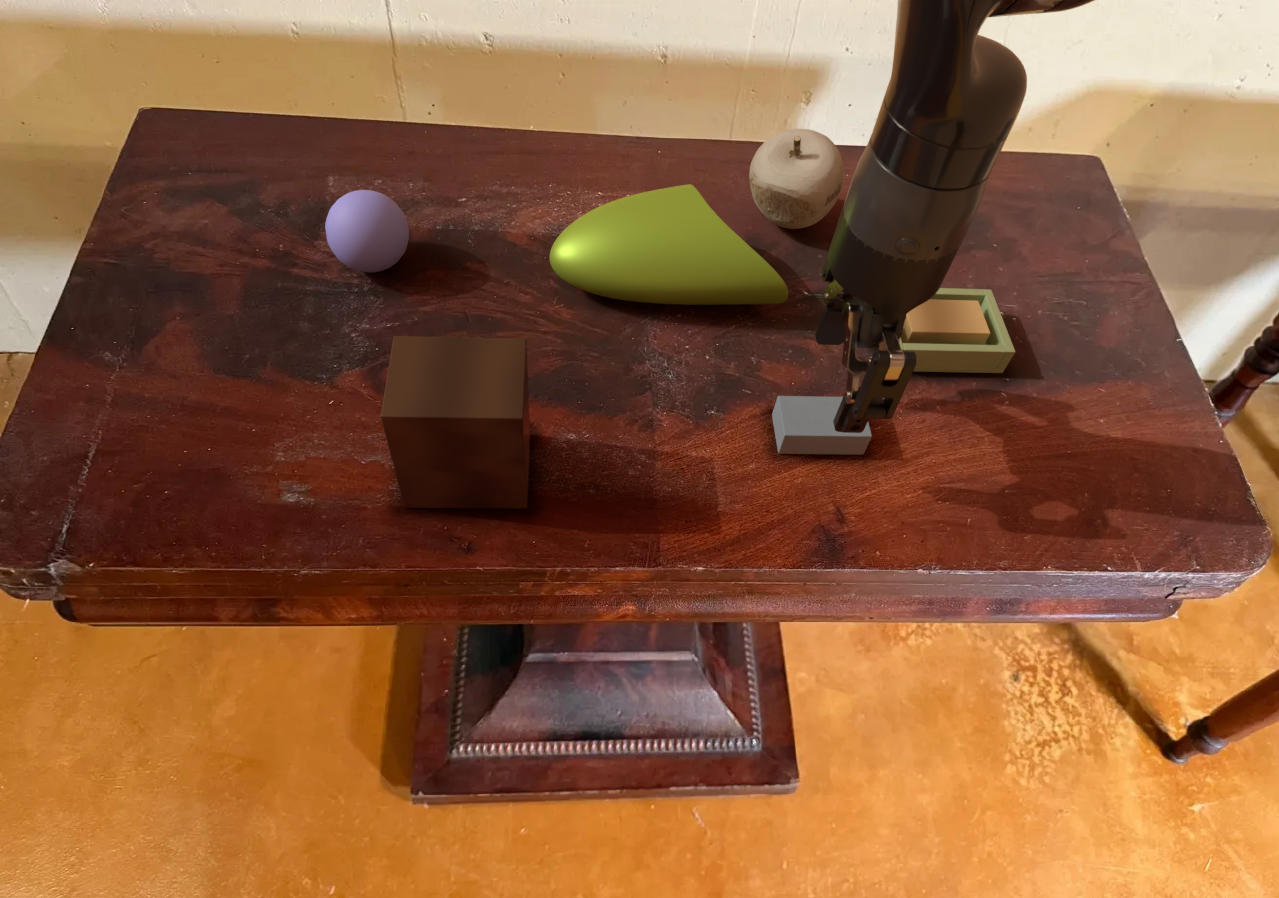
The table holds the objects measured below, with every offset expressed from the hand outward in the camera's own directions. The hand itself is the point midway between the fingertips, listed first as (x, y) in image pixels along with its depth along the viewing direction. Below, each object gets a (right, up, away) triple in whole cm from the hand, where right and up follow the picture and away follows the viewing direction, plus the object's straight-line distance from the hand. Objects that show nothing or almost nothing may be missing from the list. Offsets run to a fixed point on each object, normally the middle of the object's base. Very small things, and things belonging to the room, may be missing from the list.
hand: (837, 383), depth 67 cm
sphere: (-39, +12, +13) cm, 43 cm away
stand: (-28, -7, 0) cm, 29 cm away
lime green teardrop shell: (-13, +10, +14) cm, 22 cm away
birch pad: (+11, +5, +12) cm, 17 cm away
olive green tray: (+11, +5, +12) cm, 17 cm away
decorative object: (-1, +18, +21) cm, 27 cm away
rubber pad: (-1, -4, +5) cm, 6 cm away
